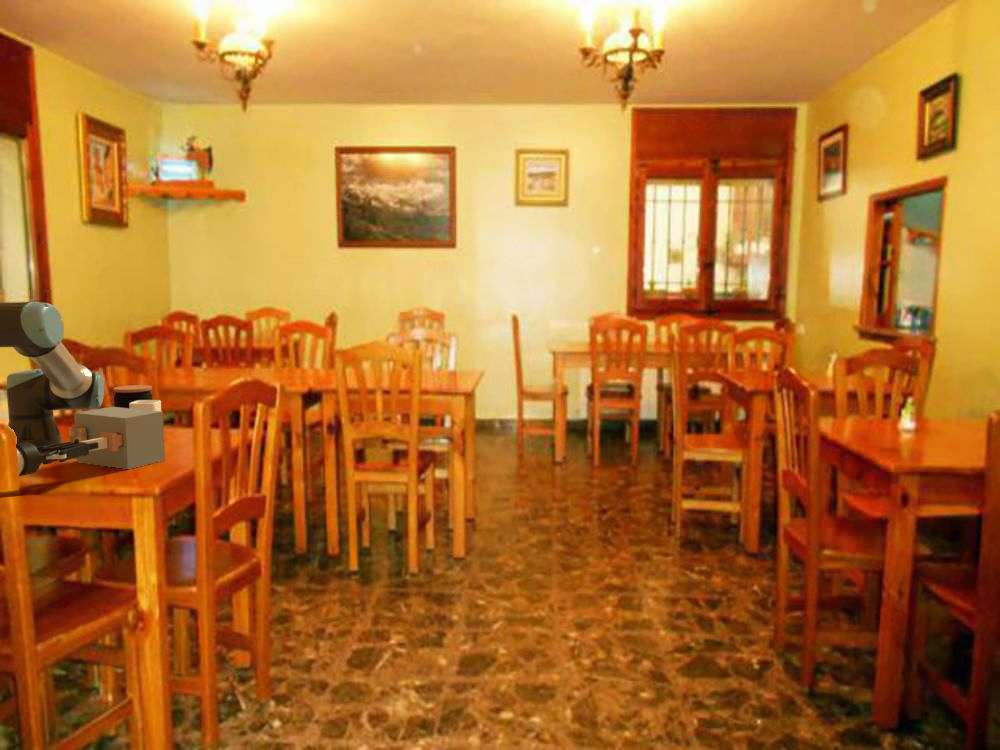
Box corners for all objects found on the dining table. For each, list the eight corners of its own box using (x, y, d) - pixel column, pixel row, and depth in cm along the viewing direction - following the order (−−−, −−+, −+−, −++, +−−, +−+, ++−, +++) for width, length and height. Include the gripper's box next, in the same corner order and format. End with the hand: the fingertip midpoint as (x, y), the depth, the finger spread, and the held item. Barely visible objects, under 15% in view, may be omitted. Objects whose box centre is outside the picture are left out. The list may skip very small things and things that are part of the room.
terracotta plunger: (100, 449, 193) (99, 432, 193) (140, 441, 204) (140, 425, 204) (112, 451, 191) (111, 434, 191) (152, 442, 203) (151, 426, 202)
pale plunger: (70, 444, 200) (69, 427, 200) (110, 436, 211) (109, 420, 211) (81, 445, 198) (80, 428, 198) (121, 437, 210) (121, 421, 209)
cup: (140, 448, 222) (137, 400, 220) (164, 448, 222) (162, 399, 220) (129, 453, 214) (127, 403, 213) (155, 453, 215) (152, 403, 213)
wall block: (77, 462, 203) (73, 412, 201) (115, 454, 214) (112, 406, 212) (128, 469, 195) (125, 418, 193) (165, 460, 206) (162, 411, 204)
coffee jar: (153, 446, 224) (150, 388, 222) (114, 449, 220) (111, 390, 218) (155, 440, 234) (153, 384, 232) (118, 442, 230) (115, 385, 228)
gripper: (-2, 473, 173) (89, 454, 195) (34, 479, 168) (123, 458, 189) (-5, 442, 172) (87, 426, 194) (31, 447, 167) (122, 430, 189)
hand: (105, 442), depth 192 cm, fingers closed
